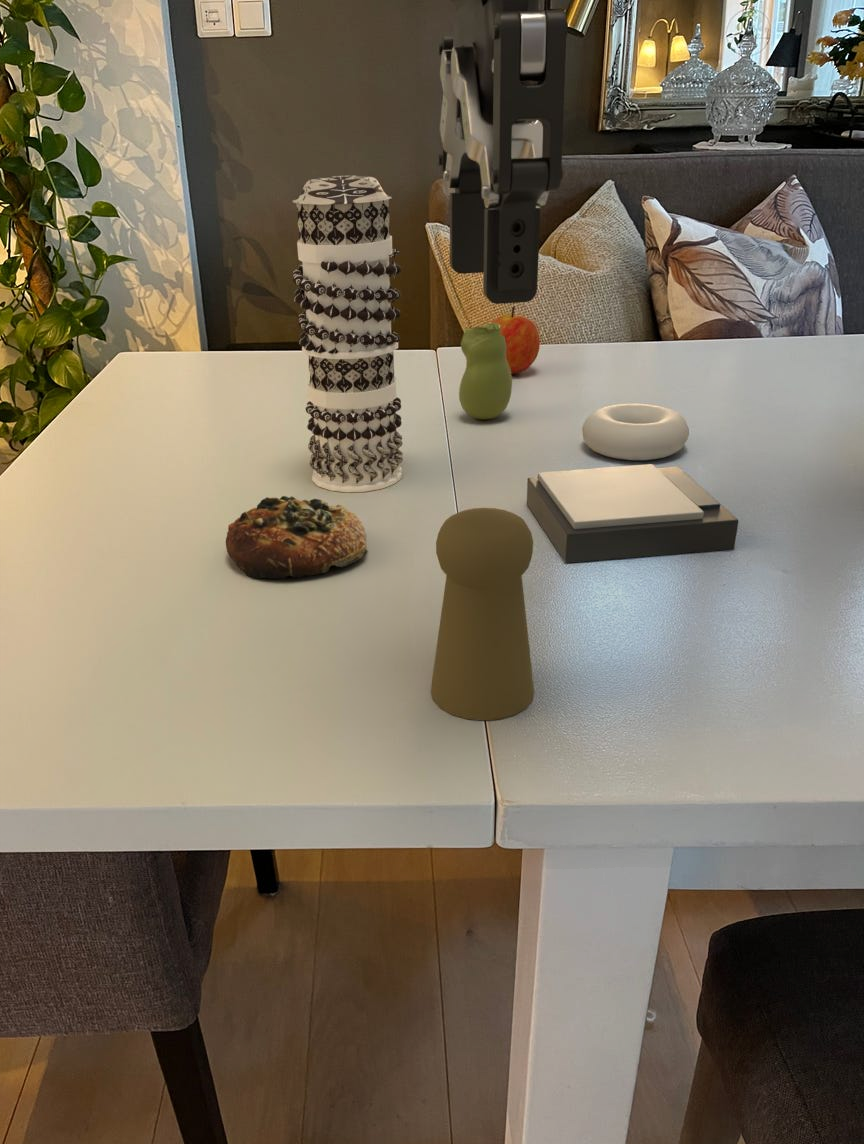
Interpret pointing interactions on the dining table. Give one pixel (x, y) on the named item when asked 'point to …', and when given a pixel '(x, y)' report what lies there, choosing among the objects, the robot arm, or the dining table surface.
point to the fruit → (519, 341)
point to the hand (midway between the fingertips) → (489, 285)
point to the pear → (485, 372)
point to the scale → (628, 513)
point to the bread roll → (294, 538)
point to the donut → (635, 431)
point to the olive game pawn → (483, 616)
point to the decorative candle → (349, 332)
